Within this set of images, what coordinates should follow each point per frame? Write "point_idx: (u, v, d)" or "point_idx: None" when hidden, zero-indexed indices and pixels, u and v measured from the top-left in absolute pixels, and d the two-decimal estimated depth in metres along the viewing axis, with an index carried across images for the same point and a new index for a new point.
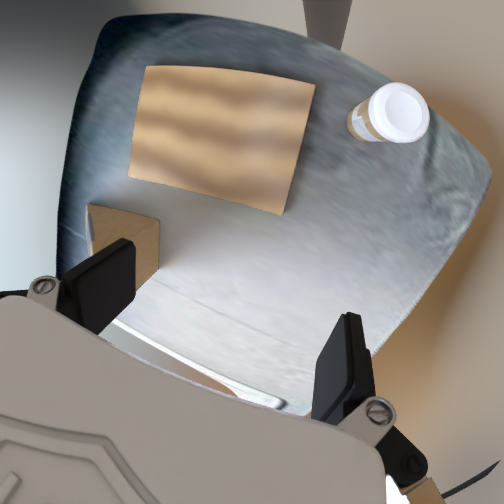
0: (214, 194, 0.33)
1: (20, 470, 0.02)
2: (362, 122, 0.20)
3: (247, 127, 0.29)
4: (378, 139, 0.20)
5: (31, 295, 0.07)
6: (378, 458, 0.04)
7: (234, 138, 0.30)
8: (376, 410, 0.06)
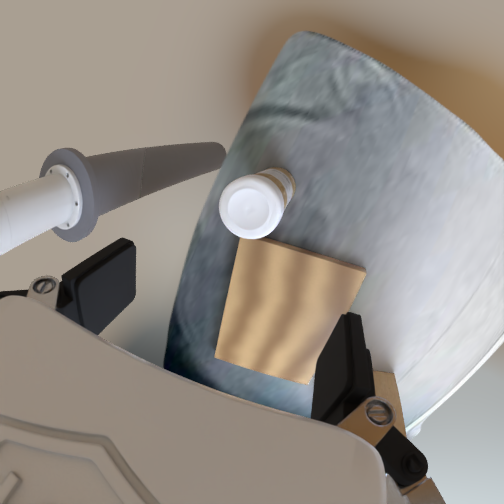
0: None
1: (20, 470, 0.02)
2: None
3: (281, 294, 0.35)
4: (286, 204, 0.23)
5: (31, 295, 0.07)
6: (378, 458, 0.04)
7: (290, 305, 0.35)
8: (376, 410, 0.06)
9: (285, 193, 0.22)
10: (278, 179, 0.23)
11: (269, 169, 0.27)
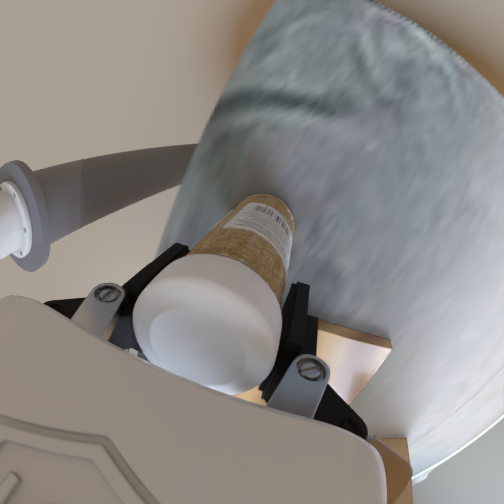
0: None
1: (20, 470, 0.02)
2: None
3: None
4: (284, 288, 0.12)
5: (96, 304, 0.07)
6: (378, 458, 0.04)
7: None
8: (307, 367, 0.07)
9: (282, 272, 0.11)
10: (268, 241, 0.11)
11: (251, 205, 0.15)
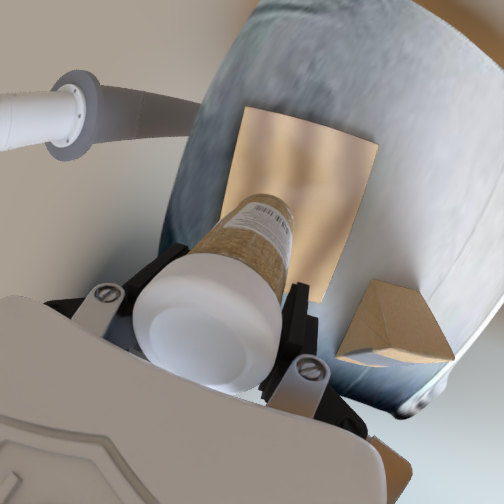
0: (354, 212, 0.31)
1: (20, 470, 0.02)
2: None
3: (288, 171, 0.31)
4: (284, 288, 0.12)
5: (96, 304, 0.07)
6: (378, 458, 0.04)
7: (299, 184, 0.31)
8: (307, 367, 0.07)
9: (283, 272, 0.11)
10: (268, 240, 0.11)
11: (251, 205, 0.15)
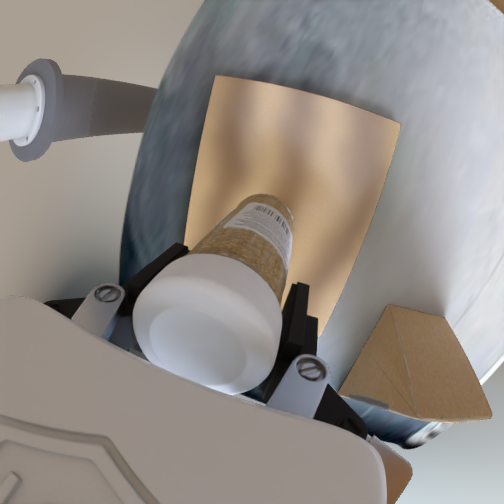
0: (368, 218, 0.22)
1: (20, 470, 0.02)
2: None
3: (275, 160, 0.22)
4: (284, 288, 0.12)
5: (96, 304, 0.07)
6: (378, 458, 0.04)
7: (290, 178, 0.22)
8: (307, 367, 0.07)
9: (283, 272, 0.11)
10: (268, 241, 0.11)
11: (251, 205, 0.15)
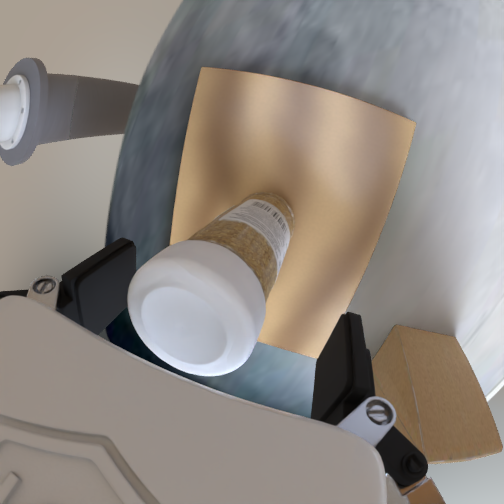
0: (377, 231, 0.19)
1: (20, 470, 0.02)
2: None
3: (270, 164, 0.19)
4: None
5: (31, 295, 0.07)
6: (378, 458, 0.04)
7: (287, 185, 0.19)
8: (376, 410, 0.06)
9: (273, 263, 0.11)
10: (260, 233, 0.12)
11: (250, 201, 0.16)
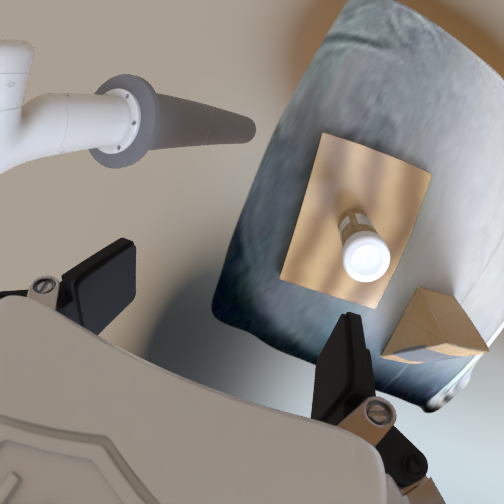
0: (409, 230, 0.33)
1: (20, 470, 0.02)
2: None
3: (358, 193, 0.34)
4: None
5: (31, 295, 0.07)
6: (378, 458, 0.04)
7: (366, 205, 0.34)
8: (376, 410, 0.06)
9: None
10: (375, 229, 0.27)
11: (358, 214, 0.31)
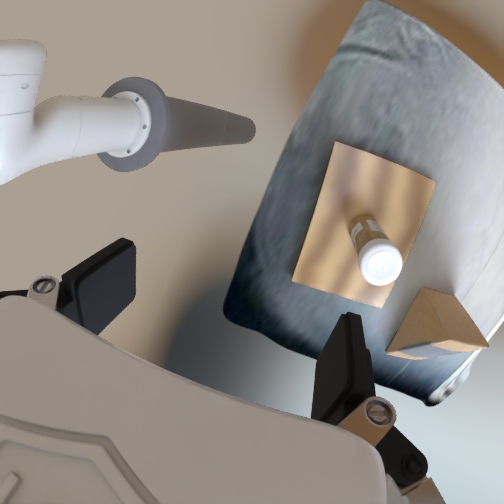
0: (414, 234, 0.35)
1: (20, 470, 0.02)
2: None
3: (368, 200, 0.35)
4: None
5: (31, 295, 0.07)
6: (378, 458, 0.04)
7: (375, 211, 0.36)
8: (376, 410, 0.06)
9: None
10: (386, 236, 0.28)
11: (369, 221, 0.32)
